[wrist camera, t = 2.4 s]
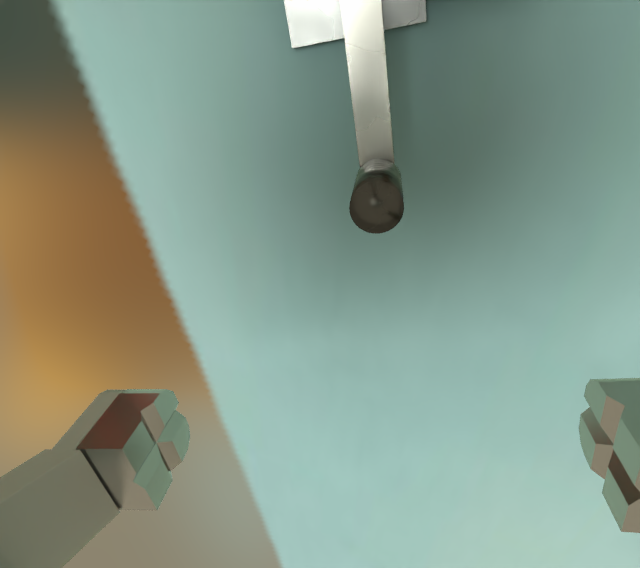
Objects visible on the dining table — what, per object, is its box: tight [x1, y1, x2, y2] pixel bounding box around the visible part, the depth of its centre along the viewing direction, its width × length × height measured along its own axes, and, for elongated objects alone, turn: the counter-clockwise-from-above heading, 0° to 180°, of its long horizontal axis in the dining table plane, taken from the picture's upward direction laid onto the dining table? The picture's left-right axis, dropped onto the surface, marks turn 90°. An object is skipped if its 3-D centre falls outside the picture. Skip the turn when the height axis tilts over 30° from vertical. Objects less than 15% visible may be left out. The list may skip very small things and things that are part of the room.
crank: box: [340, 0, 404, 233], centre depth 18 cm, size 15×4×6 cm, turn 9°
